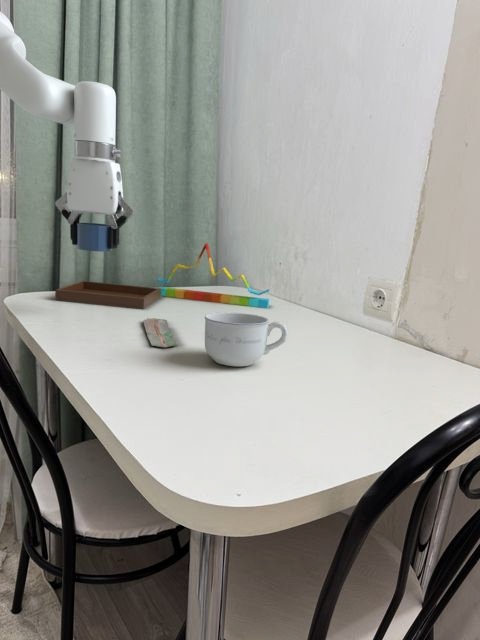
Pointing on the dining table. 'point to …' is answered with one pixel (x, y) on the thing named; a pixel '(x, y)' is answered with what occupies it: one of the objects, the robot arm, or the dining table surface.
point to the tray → (109, 294)
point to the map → (159, 332)
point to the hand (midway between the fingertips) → (94, 245)
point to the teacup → (239, 337)
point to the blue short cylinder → (93, 237)
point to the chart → (213, 296)
